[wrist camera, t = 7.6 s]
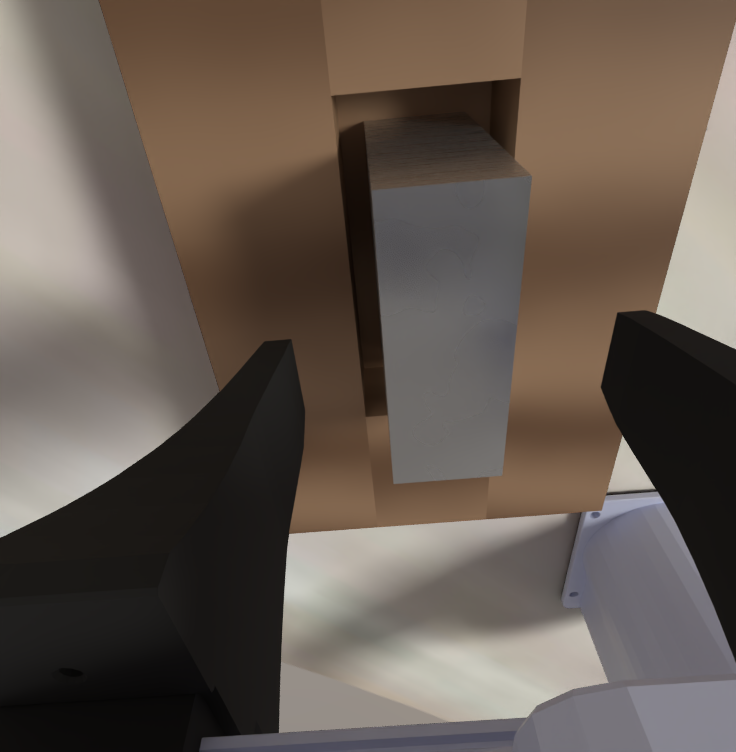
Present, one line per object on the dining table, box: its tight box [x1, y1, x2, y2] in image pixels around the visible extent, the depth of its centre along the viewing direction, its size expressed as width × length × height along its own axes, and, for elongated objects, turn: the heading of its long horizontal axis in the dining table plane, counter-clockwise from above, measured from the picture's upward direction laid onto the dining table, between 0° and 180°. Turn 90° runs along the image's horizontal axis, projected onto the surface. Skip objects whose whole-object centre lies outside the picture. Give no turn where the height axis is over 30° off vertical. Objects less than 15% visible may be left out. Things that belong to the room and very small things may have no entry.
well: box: [99, 0, 736, 534], centre depth 17 cm, size 22×14×4 cm, turn 5°
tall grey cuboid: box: [364, 112, 532, 484], centre depth 15 cm, size 8×3×7 cm, turn 5°
